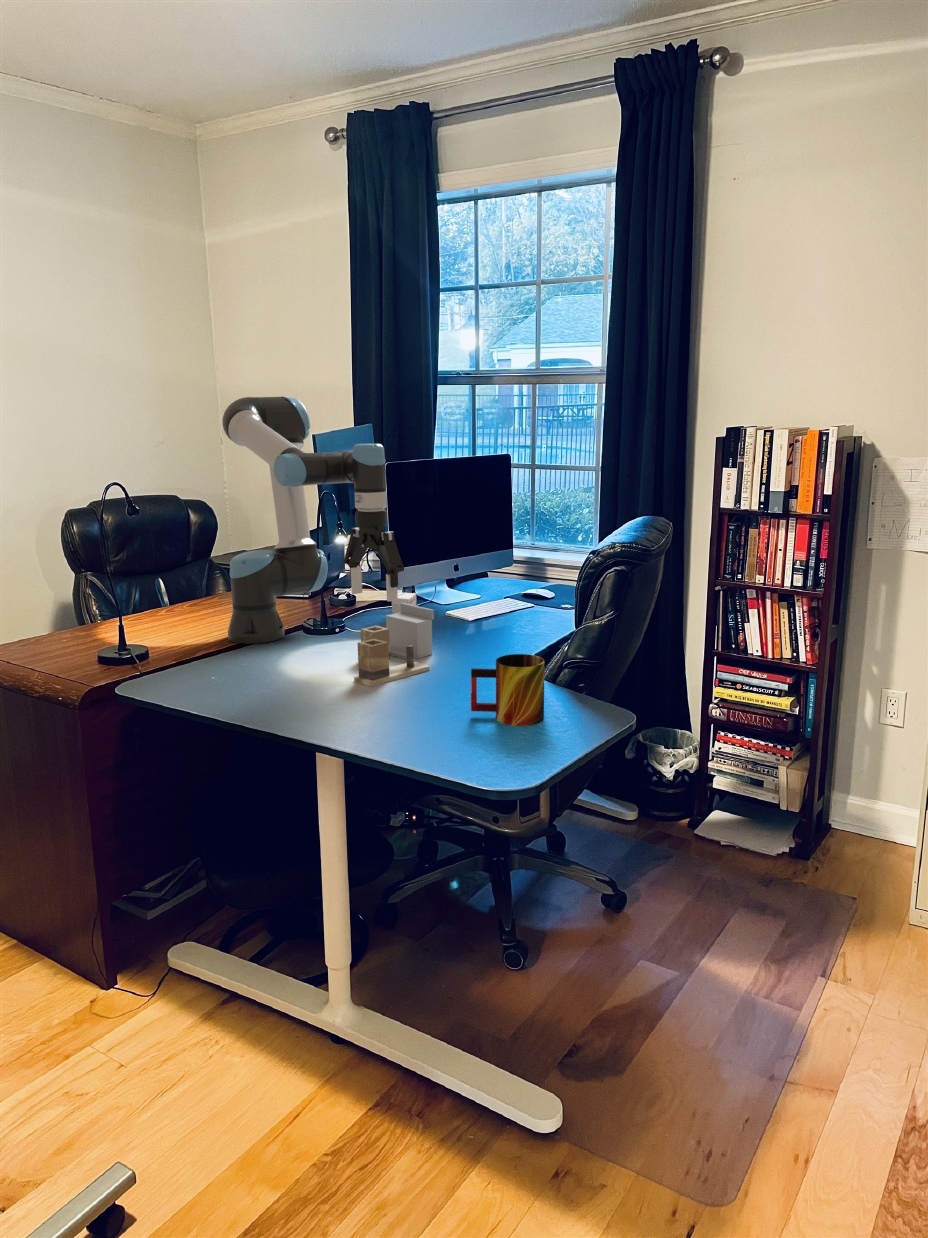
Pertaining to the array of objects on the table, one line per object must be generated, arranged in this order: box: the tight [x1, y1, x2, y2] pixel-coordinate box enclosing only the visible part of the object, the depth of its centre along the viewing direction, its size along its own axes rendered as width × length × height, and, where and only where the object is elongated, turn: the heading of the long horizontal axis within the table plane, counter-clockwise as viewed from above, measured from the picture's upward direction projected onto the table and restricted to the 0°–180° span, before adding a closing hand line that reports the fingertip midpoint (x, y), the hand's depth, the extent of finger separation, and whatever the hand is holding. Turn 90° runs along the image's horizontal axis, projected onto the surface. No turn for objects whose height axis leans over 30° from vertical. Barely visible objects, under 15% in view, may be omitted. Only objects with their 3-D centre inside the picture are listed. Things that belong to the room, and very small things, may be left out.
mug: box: [470, 653, 545, 727], centre depth 178 cm, size 10×14×12 cm
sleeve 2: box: [357, 639, 390, 681], centre depth 205 cm, size 5×5×8 cm
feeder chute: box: [385, 603, 435, 661], centre depth 228 cm, size 12×9×11 cm
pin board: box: [353, 645, 431, 687], centre depth 209 cm, size 6×18×6 cm, turn 134°
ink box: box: [391, 592, 417, 614], centre depth 243 cm, size 9×5×12 cm, turn 168°
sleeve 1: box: [360, 625, 391, 661], centre depth 222 cm, size 5×5×8 cm
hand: (374, 596), depth 219 cm, fingers open, 13 cm apart
